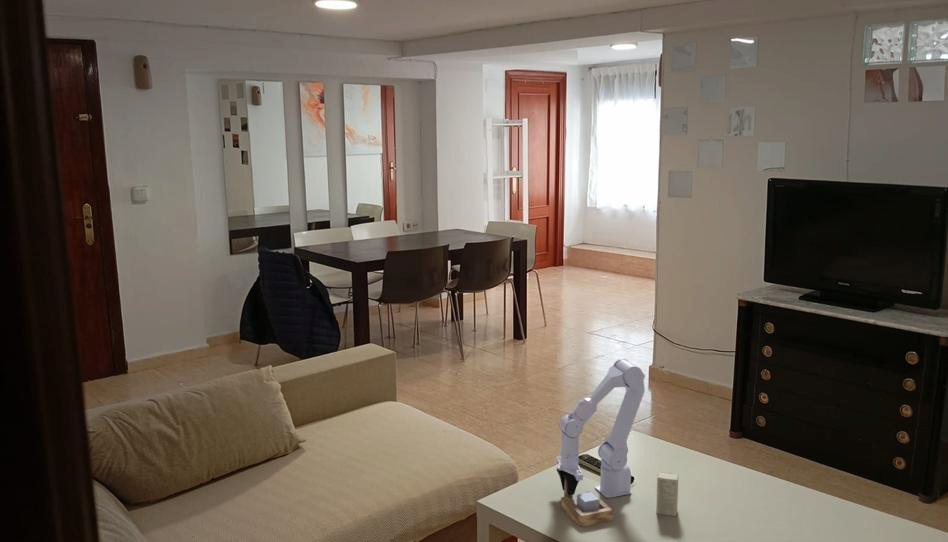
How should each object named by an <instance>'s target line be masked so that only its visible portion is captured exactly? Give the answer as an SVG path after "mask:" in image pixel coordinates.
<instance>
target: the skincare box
mask: <svg viewBox="0 0 948 542" xmlns="http://www.w3.org/2000/svg"><path fill="white" fill-rule="evenodd" d="M656 478H657V479H656V481H657V482H656V483H657V484H656V511H655V512H656V514H658V515H667V516H672V517H676V516H677V513H678V503H679V502H678V499H679V498H678V497H679V474H677V473H672V472H671V473H670V472H662V471H659V472H658V473H657V476H656Z"/></svg>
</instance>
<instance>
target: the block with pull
mask: <svg viewBox="0 0 948 542" xmlns="http://www.w3.org/2000/svg"><path fill="white" fill-rule="evenodd" d="M588 492H589V493H587V492H585V493H578V494H577V495H576V499H575V498H574V495H568V493H567V485H566V480H565V481H564V490H563V497H567V498H568V499H569V500H571V501H572V502H573V503H574V504H575V505H576V506H577V507H578V508H579V509H580V510H581V511H582V512H583V513H584V512H589V511H594V510H599V498H600V497H599V498H597V497H598V496H597V495H596V494H595V493H594V492H593V491H588ZM592 492H593V493H594V494H595V495H596V496H597V497H596V496H595V495H594V494H593V493H592Z"/></svg>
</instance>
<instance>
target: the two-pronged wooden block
mask: <svg viewBox="0 0 948 542" xmlns="http://www.w3.org/2000/svg"><path fill="white" fill-rule="evenodd" d="M589 492H590V491H587V492H586V493H589ZM591 492H592V493H593V494H594V495H595V496H596V497H597V498H599V510H594V511H589V512H584V513H583V512H582V511H581V510H580V509H579V508H578V507H577V506H576V505H575V504H574V503H573V502H572V501H571V500H569V499H568V498H567V497H564V496H563V497H561V507H562V508H561V507H560V508H561V509H562V510H563V511H564V510H565V511H566V512H567V513H568V514H569V515H570V516H571V517H570V516H569V515H568V514H567V513H566V512H565V511H564V512H565V513H566V514H567V515H568V516H569V517H570V518H571V519H572V520H573V521H574V522H576V524H578V526H580V527H581V526H582V527H586V525H587V526H591V525H596V524H601V523H607V522H611V520H612V521H613V512H614V511H613V508H611V507H610V506H609V505H608V504H607V503H606V502H604V501H603V500H602V499H601V498H600V497H598V495H596V494H595V493H594V492H593V491H591ZM606 521H607V522H606Z"/></svg>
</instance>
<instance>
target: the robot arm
mask: <svg viewBox="0 0 948 542" xmlns="http://www.w3.org/2000/svg"><path fill="white" fill-rule="evenodd" d="M645 377H646V375H645V373H644V372H643V370H642V369H641V368H640V367H639V366H636V365H634V364H633V363H631V362H630V361H629V360H627V359H625V358H619V359H617V360H615V361H614V362H613V365H611V366H610V367H609V368H608V371H607V374H606V375H605V376H604V378H603V379H602V380H601V381H600V383H598V385H597V387H596V388H595V389H594V390H593V391H592V393H591V394H590V395H589V396H588V397H583V398H582V399H580V400H578V401H577V404H576V405H575V407H574V408H573V409H572V410H571V411H569V412H568V413H567V414H566V415H563V416H562V417H561V418H560V420H559V422H558V423H557V424H558V428H559V429H560V430H561V433H560V456H556V458H555V460H556V461H555V463H556V464H558V465H557V467H556V472H557V474H558V476H559V479H560V482H561V483H560V484H561V488H562V491H564V481H565V480H566V485H567V493H568V495H573V496H574V495H575V493H576V489H577V487H578V484H579V483H580V481H584V474H583V473H582V470H581V468H580V465H579V457H580V456H579V453H580V452H579V450H580V435H582V433H583V430H584V426H585V424H587V422H588V421H589V420H590V419H591V418H592V416H593V415H594V414H595V413H596V412H597V410H598V404H599V403H600V402H602V400H604V398H605V397H607V396H608V395H609V394H610V393H611V392H612V391H613V390H614V389H615V388H625V393H624V397H623V399H622V402H621V404H620V407H619V410H618V413H617V416H616V418H615V421H614V424H613V426H612V430H611V432H610V434H609V435H608V436H606V437H605V438H604V440H603V442H602V443H601V444H600V445H599V447H598V450H597V454H598V458H600V461H601V462H600V478H599V479H600V480H599V481H600V482H599V483H600V484H599V485H594V486H595V487H594V489H596V490H597V492H599V493H600V494H601V495H602V496H604V498H606V499H611V498H616V497H620V496H625V495H631V494H632V491H631V482H632V481H631V480H632V473H631V468H630V466H629V464H627V463H628V453H629V447H628V443H627V441H628V438H629V435H630V432H631V429H632V427H633V424H634V422H635V420H636V417H637V416H636V415H638V410H639V408H640V405H641V403H642V400H643V397H644V393H645V390H646V389H645V381H644V380H645Z"/></svg>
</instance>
